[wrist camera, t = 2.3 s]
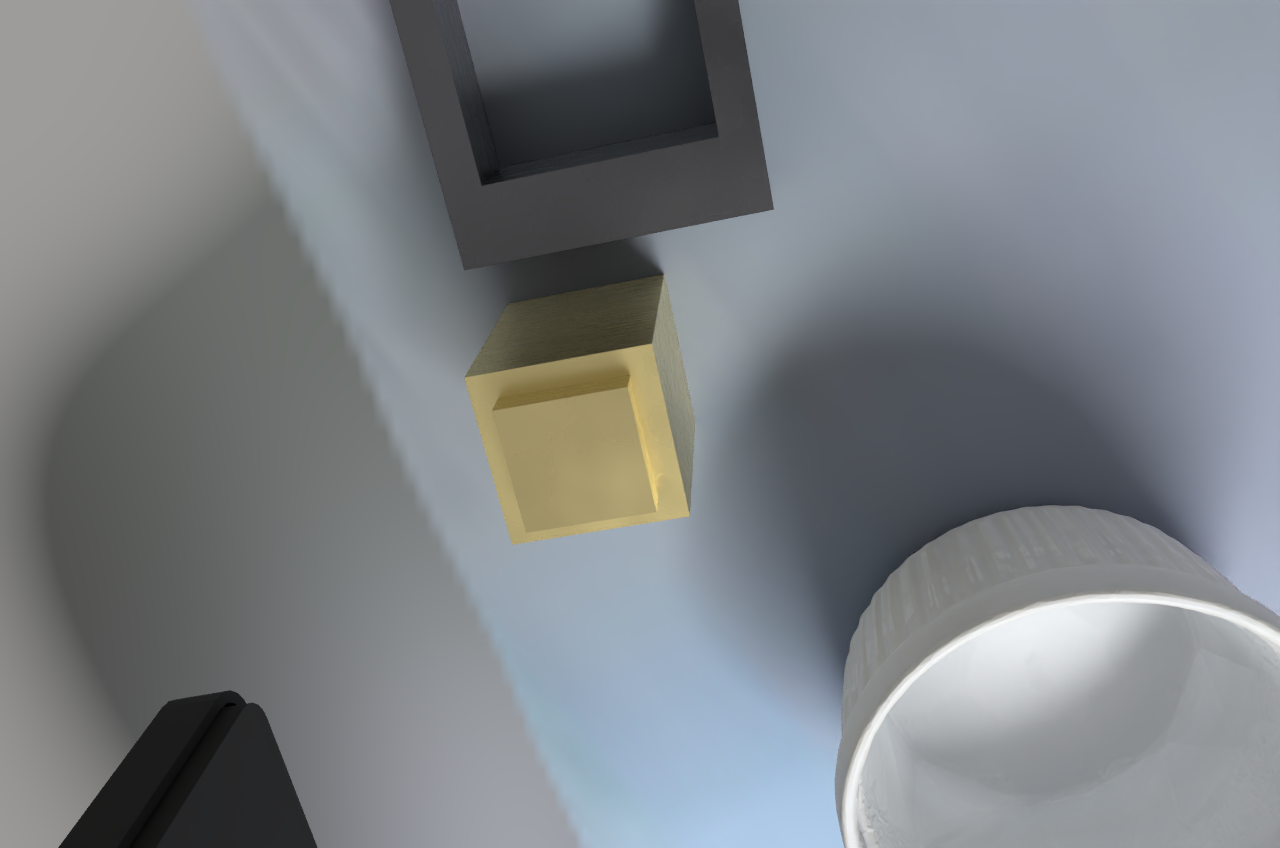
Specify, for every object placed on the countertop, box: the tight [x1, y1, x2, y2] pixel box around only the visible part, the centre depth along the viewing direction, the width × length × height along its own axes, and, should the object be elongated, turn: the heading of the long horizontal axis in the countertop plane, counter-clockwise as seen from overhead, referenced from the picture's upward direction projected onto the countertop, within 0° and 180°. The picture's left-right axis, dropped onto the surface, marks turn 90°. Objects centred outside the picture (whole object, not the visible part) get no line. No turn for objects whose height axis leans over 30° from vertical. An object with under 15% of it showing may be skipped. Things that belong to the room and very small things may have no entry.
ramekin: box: [835, 505, 1280, 848], centre depth 33 cm, size 13×13×7 cm
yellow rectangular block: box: [465, 274, 695, 545], centre depth 30 cm, size 4×4×7 cm
